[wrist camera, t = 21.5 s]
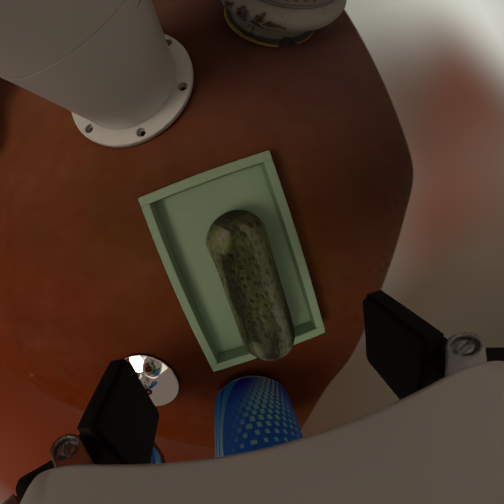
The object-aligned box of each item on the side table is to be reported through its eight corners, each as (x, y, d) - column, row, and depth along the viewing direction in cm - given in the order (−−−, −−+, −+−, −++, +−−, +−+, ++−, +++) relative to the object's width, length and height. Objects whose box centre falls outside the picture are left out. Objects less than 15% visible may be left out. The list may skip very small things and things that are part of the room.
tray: (145, 197, 25) (137, 198, 22) (264, 154, 25) (269, 150, 23) (213, 358, 29) (213, 372, 26) (317, 321, 29) (325, 332, 27)
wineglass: (179, 409, 30) (164, 558, 10) (118, 398, 29) (69, 532, 9) (181, 358, 28) (153, 531, 9) (112, 346, 27) (33, 491, 8)
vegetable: (269, 198, 24) (221, 213, 26) (237, 208, 19) (185, 225, 22) (309, 343, 26) (264, 344, 29) (290, 377, 22) (240, 374, 24)
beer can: (205, 413, 30) (204, 526, 15) (228, 361, 29) (237, 487, 13) (269, 426, 32) (295, 529, 16) (298, 378, 30) (345, 488, 15)
